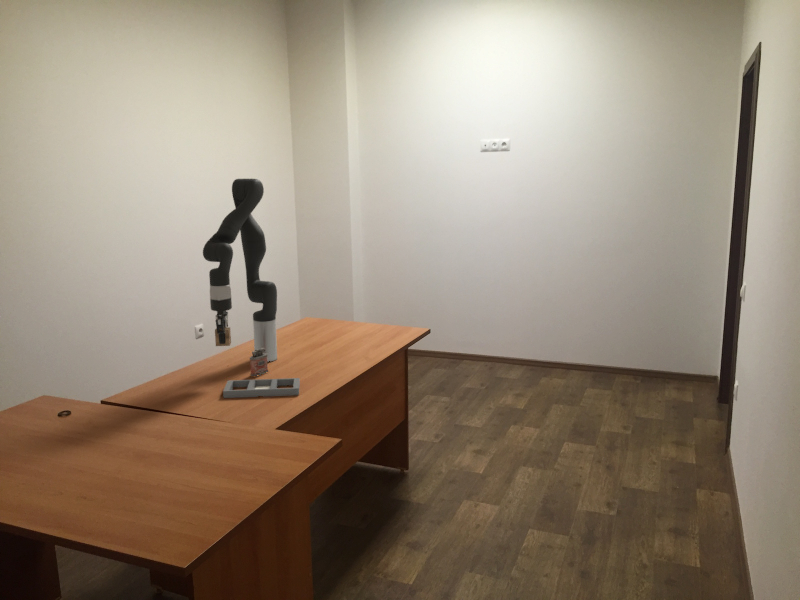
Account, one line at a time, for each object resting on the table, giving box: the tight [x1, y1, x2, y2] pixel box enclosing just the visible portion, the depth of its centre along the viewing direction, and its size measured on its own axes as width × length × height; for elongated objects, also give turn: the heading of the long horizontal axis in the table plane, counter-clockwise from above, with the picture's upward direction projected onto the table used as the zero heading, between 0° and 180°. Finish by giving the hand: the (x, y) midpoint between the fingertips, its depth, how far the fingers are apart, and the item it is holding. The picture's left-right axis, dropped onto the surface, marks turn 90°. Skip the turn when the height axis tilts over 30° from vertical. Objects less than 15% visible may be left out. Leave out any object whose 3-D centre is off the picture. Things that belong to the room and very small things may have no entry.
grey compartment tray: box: [222, 377, 301, 399], centre depth 230 cm, size 12×26×2 cm, turn 97°
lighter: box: [249, 348, 269, 377], centre depth 249 cm, size 8×3×10 cm, turn 143°
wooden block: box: [214, 326, 232, 347], centre depth 238 cm, size 4×5×6 cm
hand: (223, 341), depth 238 cm, fingers closed on wooden block, 4 cm apart
